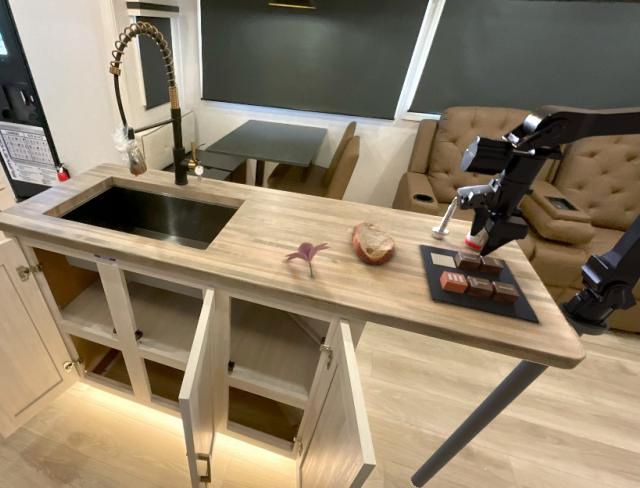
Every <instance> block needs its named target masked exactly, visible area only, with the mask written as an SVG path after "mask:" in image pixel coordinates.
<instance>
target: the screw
mask: <svg viewBox="0 0 640 488" xmlns="http://www.w3.org/2000/svg"><path fill="white" fill-rule="evenodd" d="M457 206H458V204H457V197H454V198H453V200H452V202H451V204H450V205H449V207H448V209H447V210H446V213H445V215H444V217H443V218H442V221H441V223H440V225H439V226H435V227H432V229H431V231H432V232H433V237H434V238H436V239H437V240H442V239H443V238H444V237H447V236H450V231H449V230H448V229H447V228H448V225H449V223H450V221H451V219H452V217H453V215H454V213H455V212H456V210H457Z"/></svg>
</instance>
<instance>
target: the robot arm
mask: <svg viewBox="0 0 640 488" xmlns="http://www.w3.org/2000/svg"><path fill="white" fill-rule="evenodd" d="M633 135H640V106H633V107H619V108H605V109H586V108H579V107H572V106H565V105H564V106H563V105H554V104H553V105H552V104H546V105H542V106H539V107H537V108H535V110H533V111H532V112H531V113H530V114H529V115H528V116H527V117H526V118H525V120H524V121H523V122H521V123H519V124H518V125H517V126H515V127H513V129H511V130H509V131H508V132H506V133H505V134H504V135H502V136H501V137H500V138H496V137H488V136H486V135H480V134H479V135H476V137H475V140H474V141H472V142H471V143H470V144H469V146H468V147H467V149H465V150H464V152H463V155H462V157H461V160H460V165H459V170H460V172H462V173H468V174H475V175H482V176H492V177H493V178H491V180H490V181H489V183H488V184H481V185H480V184H479V185H472V186H465V187H459V188H458V189H457V191H456V192H457V194H456V198H457V207H458V209H459V210H461V211H468V210H473V217H472V220H471V226H470V230H471V231H470V230H469V232H470V236H476V235H477V234H478V233H479V232H480V231H481V230H482V229H483V228H484V229H485V231H486V233H487V236H486V238H485V240H484V243H483V245H482V247H481V250H480V251H479V253H478V255H480V256H486V257H487V256H488V255H490V254H491V253H493V252H495V251H497V250H498V249H499V248H501V247H503V246H505V245H507V244H510V243H511V242H513V241H519V240H521V241H522V240H525V239H526V237H527V236H528V234H529V233H530V232H531V229H530V227H529V225H528V224H527V222H526V221H525V220H524V219H523V218H522V217H519V216H515V215H520V213H521V212H522V208H521V207H520V205H521V203H522V202H523V200H524V199H525V197H526V196H532V195H533V193H534V192H535V190H534V188H533V187H532V186H533V185H534V183H535V181H536V180H537V178H538V176H539V175H540V174H541V172H542V170H543V169H544V168H545V165H546V164H547V162H548V161H549V160H554V161H564V160H565V155H564V154H563V152H562V147H561V146H563V145H567V144H573V143H576V142H579V141H581V140H583V139H587V138H592V137H611V136H613V137H614V136H633ZM525 138H526V139H525ZM497 174H498V177H496V175H497ZM511 214H514V215H511ZM580 269H581V277H582V280H581V285H583V286H584V287H585V288H582V289H581V291H580V292H579V293H575V294H574V296H573V297H572V298H571V299H569V302H568V303H566V302H565V301H563V302H564V303H563V306H564V307H565V309H566V310H567V311H568V313H569V314H570V316H571V317H572V319H573V320H574V321H577V322H582V323H587V324H591V325H596V326H601V327H607V326H608V325H607V324H606V323H605V320H606V319H607V320H608V319H609V317H610V316H611V315H613V314H614V313H615V312H616V311H618V310H623V311H627V310H629V309H631V308H633V307H635V306H637V305H638V303H637V300H636V297H635V296H634V293H633V290H634V289H635V287H636V286H637V284H638V283H639V282H640V213H639V214H638V215H637V217H636V218H635V219H634V221H632V223H631V224H630V226H629V227H628V228H627V230H626V231H625V232H624V233H623V235H622V236H621V237H620V238H619V240H618V241H617V242H616V243H615V245H614V246H613V247H612V248H611V249H610V250H609V251H606V252H604V253H602V254H600V255H599V254H595V253H593V254H590V255H589V257H588V260H587V261H586V262H585V264H583V265H582V266H580Z"/></svg>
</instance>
